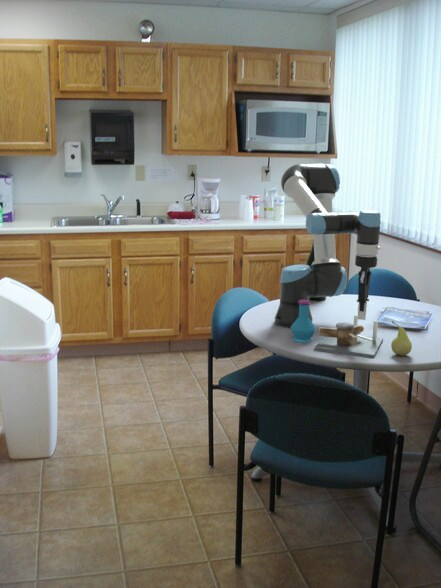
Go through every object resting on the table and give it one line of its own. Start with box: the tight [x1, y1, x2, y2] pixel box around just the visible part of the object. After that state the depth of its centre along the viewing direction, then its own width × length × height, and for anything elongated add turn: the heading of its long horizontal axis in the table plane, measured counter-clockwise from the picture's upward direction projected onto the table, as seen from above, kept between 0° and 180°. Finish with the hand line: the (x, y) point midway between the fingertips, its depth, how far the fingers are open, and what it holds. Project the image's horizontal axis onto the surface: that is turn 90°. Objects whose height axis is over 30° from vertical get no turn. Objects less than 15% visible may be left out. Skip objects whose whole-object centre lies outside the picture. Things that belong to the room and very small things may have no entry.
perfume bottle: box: [290, 300, 317, 343], centre depth 252 cm, size 9×9×15 cm
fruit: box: [390, 320, 413, 357], centre depth 236 cm, size 7×8×12 cm
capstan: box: [318, 322, 365, 346], centre depth 246 cm, size 16×16×7 cm
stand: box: [313, 314, 384, 359], centre depth 246 cm, size 21×21×9 cm
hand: (361, 318), depth 245 cm, fingers closed
